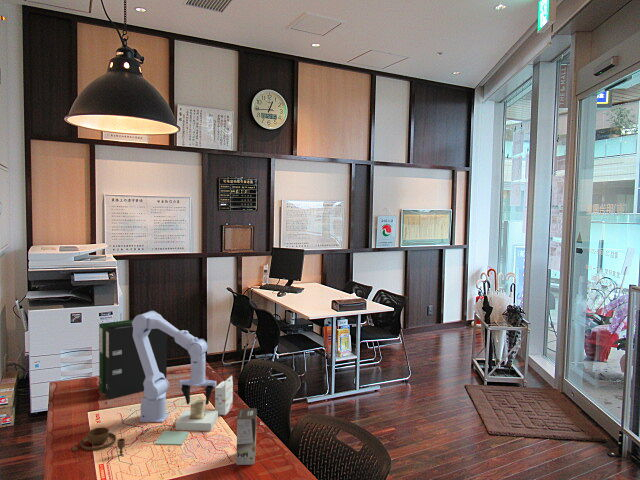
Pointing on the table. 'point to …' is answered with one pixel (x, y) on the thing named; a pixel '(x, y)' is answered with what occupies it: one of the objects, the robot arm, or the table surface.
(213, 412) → the pocket holder
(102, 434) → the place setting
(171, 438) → the rubber mat
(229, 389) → the ink cartridge box
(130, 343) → the binder
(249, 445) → the coffee box
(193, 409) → the maple peg
